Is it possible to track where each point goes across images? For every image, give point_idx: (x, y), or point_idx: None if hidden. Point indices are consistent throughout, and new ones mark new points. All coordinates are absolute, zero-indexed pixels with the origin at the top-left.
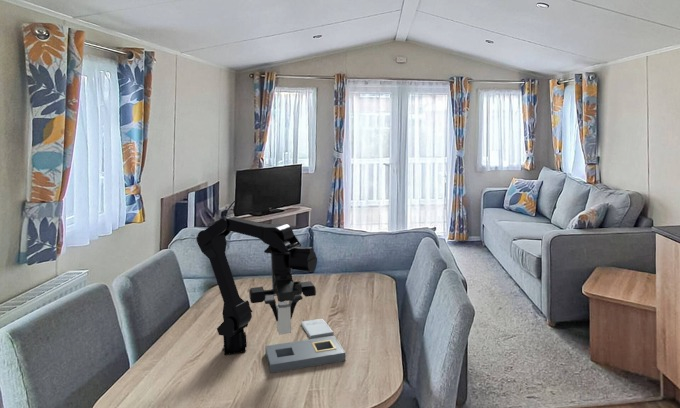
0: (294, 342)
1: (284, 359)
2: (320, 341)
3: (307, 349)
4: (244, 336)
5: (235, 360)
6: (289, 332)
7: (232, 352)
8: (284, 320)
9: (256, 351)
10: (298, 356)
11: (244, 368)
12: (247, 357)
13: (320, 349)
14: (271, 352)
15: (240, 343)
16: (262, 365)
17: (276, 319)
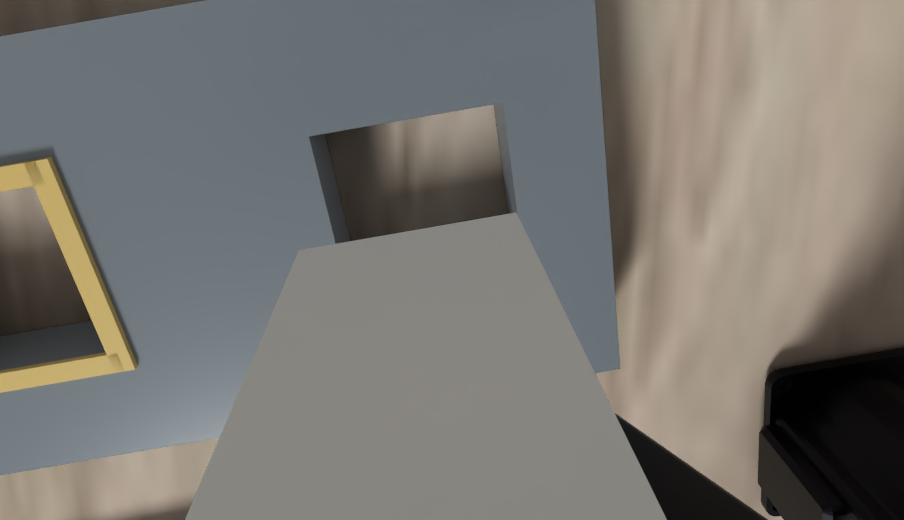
0: None
1: (423, 39)
2: (36, 383)
3: (167, 238)
4: (837, 497)
5: (865, 248)
6: (328, 250)
7: (884, 361)
8: (411, 364)
9: (672, 375)
10: (259, 87)
11: (809, 88)
12: (758, 285)
13: (76, 327)
14: (565, 226)
15: (847, 432)
16: (638, 119)
17: (624, 429)
